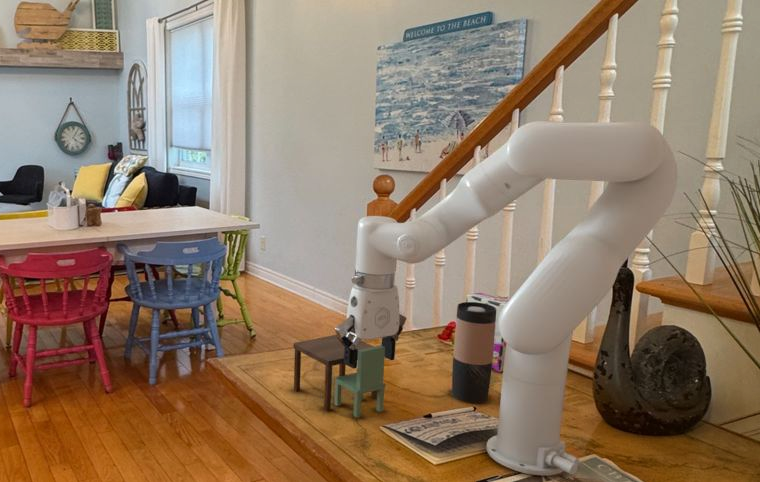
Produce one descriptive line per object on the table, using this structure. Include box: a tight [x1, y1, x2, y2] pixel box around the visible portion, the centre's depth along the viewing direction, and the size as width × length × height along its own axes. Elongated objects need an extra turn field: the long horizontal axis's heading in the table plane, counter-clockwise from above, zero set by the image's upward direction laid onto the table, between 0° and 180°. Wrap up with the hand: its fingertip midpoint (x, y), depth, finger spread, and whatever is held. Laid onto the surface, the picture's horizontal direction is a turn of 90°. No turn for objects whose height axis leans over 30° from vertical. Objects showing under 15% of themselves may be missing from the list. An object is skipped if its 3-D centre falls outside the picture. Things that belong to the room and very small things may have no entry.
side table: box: [293, 333, 377, 412], centre depth 138 cm, size 12×14×11 cm
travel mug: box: [451, 301, 496, 404], centre depth 135 cm, size 8×8×20 cm
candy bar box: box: [465, 292, 509, 373], centre depth 153 cm, size 11×5×16 cm, turn 25°
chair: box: [333, 344, 386, 419], centre depth 131 cm, size 7×7×14 cm
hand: (369, 361), depth 127 cm, fingers open, 9 cm apart
